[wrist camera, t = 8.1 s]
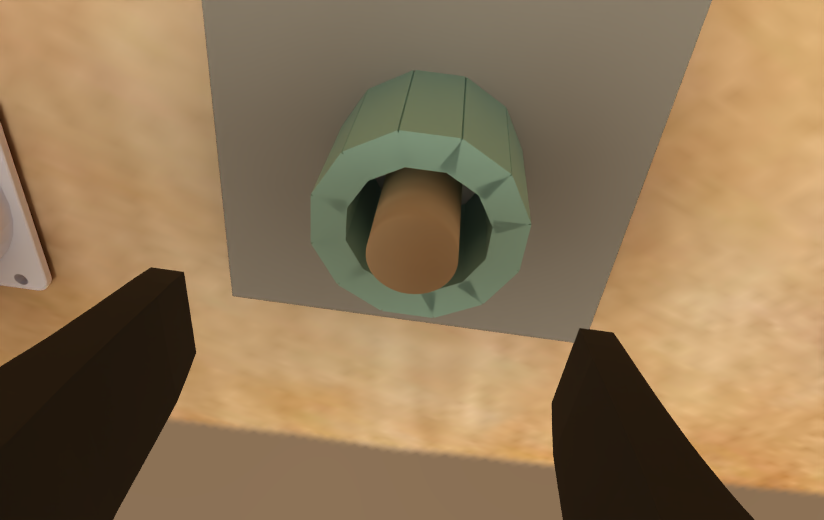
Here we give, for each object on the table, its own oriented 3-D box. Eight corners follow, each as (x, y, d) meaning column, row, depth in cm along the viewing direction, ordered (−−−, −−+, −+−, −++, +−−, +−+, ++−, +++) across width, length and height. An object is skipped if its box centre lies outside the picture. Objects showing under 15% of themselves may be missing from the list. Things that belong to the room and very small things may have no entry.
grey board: (241, 279, 23) (232, 296, 22) (204, -120, 15) (189, -116, 15) (580, 325, 23) (583, 344, 22) (717, -56, 15) (730, -49, 14)
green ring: (338, 223, 20) (310, 301, 17) (343, 60, 17) (310, 118, 14) (500, 245, 20) (504, 327, 17) (537, 85, 17) (550, 150, 13)
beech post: (388, 188, 19) (363, 287, 15) (393, 122, 18) (368, 212, 14) (458, 197, 19) (451, 299, 15) (468, 132, 18) (464, 225, 14)
